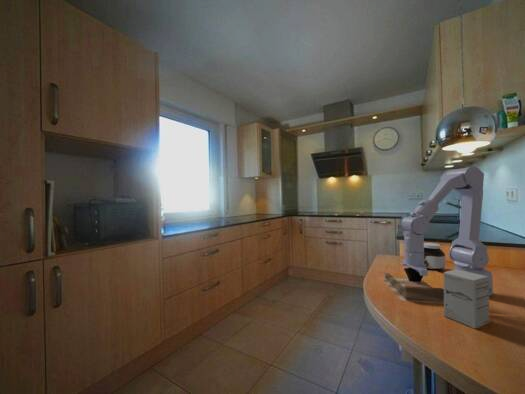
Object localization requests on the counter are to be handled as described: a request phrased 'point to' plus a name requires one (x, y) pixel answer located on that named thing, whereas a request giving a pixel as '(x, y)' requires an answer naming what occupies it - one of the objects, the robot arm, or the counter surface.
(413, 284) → the block
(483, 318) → the supplement box
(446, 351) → the counter surface
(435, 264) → the spread jar
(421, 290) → the channel
